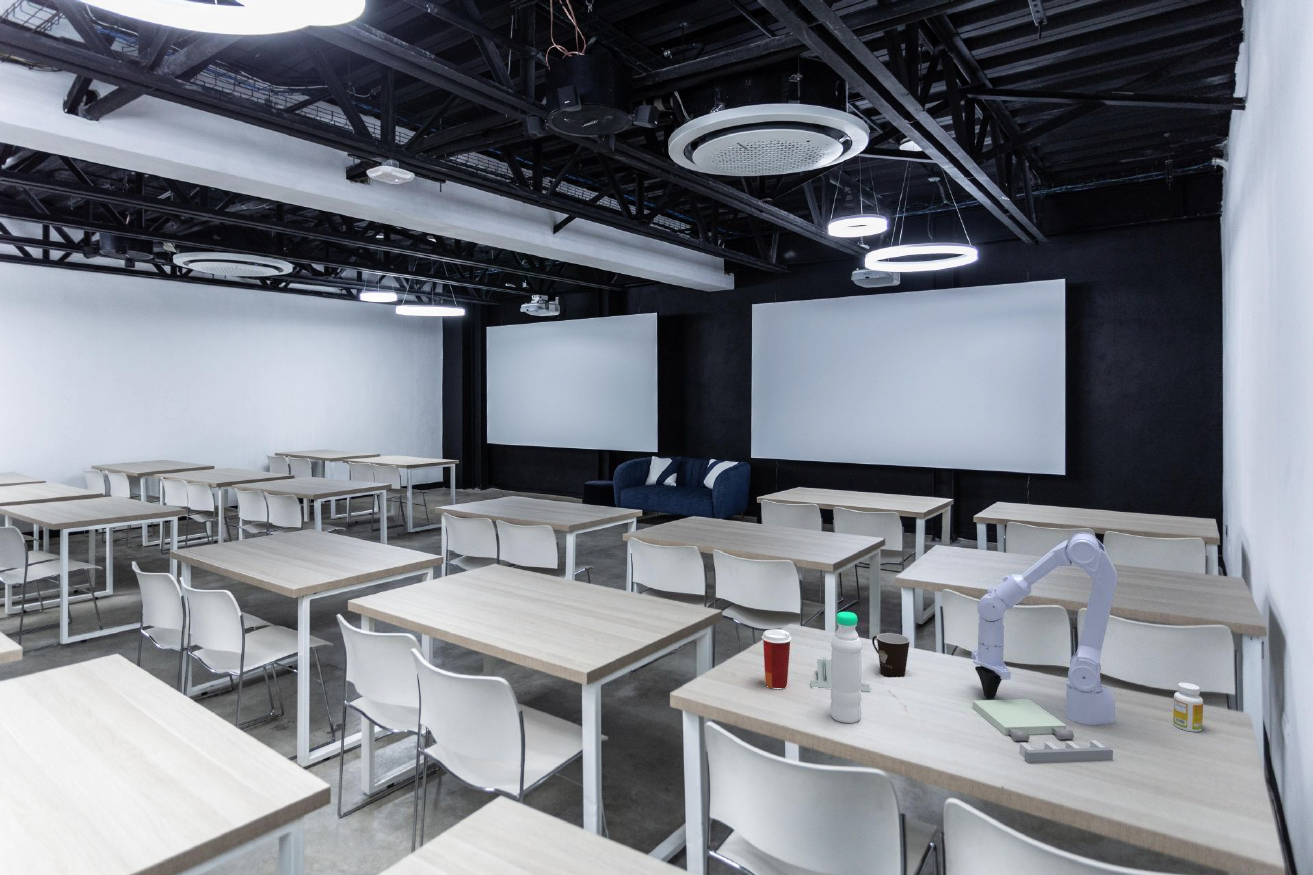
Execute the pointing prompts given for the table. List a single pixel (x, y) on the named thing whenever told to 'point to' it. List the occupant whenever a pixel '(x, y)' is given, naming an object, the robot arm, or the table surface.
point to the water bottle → (846, 670)
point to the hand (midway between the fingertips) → (989, 697)
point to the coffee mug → (892, 654)
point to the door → (1021, 718)
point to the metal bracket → (829, 676)
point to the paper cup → (776, 657)
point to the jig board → (1066, 753)
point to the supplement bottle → (1188, 708)
